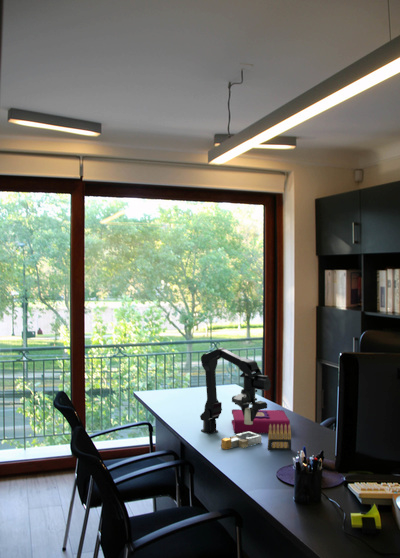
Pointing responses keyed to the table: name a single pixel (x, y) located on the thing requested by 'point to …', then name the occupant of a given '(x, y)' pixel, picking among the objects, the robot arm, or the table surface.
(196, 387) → the table surface
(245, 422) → the cream tapered cylinder
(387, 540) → the table surface
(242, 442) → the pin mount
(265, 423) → the book
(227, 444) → the pin
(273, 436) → the ammunition clip
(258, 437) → the socket
